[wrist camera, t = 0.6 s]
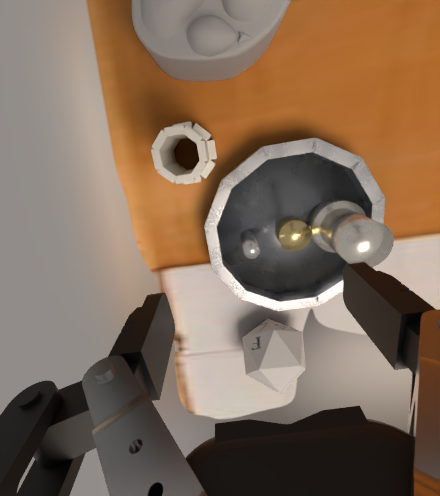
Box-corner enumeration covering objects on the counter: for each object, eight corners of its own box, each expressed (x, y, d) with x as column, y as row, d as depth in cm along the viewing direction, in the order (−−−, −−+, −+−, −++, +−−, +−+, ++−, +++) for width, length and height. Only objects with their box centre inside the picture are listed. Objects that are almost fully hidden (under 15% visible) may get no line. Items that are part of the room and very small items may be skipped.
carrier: (194, 157, 30) (184, 161, 22) (373, 127, 29) (437, 117, 21) (221, 305, 38) (222, 351, 29) (364, 285, 37) (409, 326, 28)
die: (299, 306, 39) (274, 327, 31) (323, 364, 37) (305, 403, 29) (252, 319, 43) (220, 341, 35) (273, 372, 42) (244, 407, 34)
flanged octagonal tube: (156, 129, 29) (134, 122, 22) (211, 119, 29) (208, 109, 21) (168, 185, 32) (153, 196, 24) (219, 177, 31) (220, 185, 24)
